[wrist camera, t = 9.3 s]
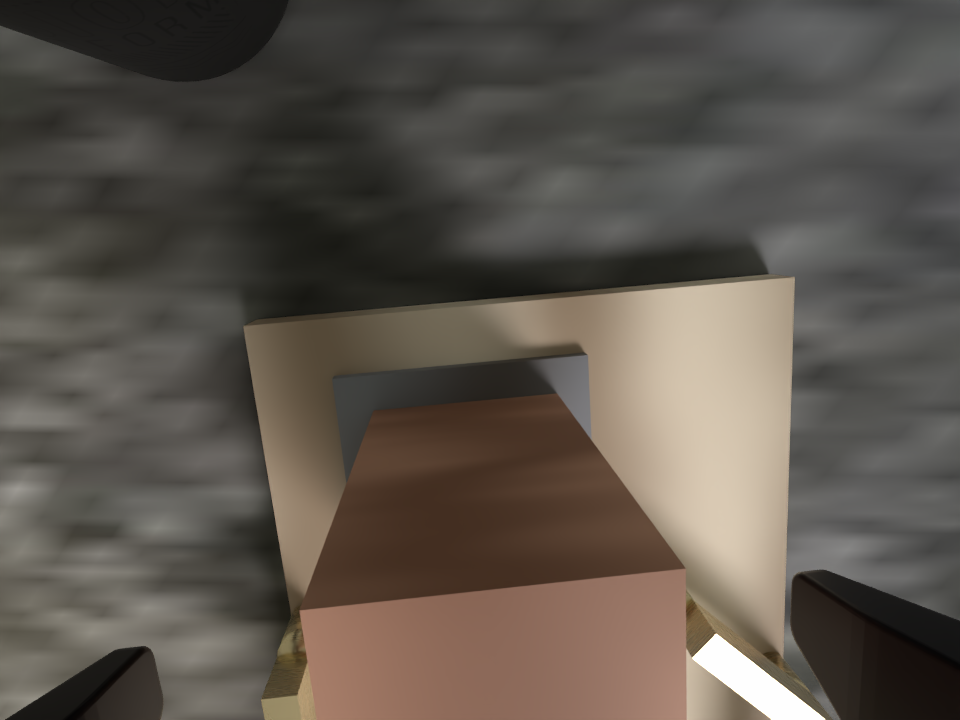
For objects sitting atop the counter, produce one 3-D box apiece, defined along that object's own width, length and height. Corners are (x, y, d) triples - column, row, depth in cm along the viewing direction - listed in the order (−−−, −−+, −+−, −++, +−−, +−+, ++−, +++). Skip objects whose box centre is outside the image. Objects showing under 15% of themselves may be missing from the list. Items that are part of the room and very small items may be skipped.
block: (557, 393, 13) (686, 568, 6) (566, 559, 14) (687, 872, 7) (373, 410, 13) (300, 610, 6) (393, 577, 14) (348, 917, 7)
